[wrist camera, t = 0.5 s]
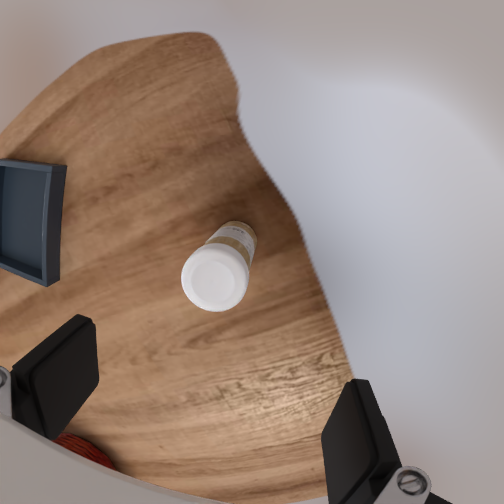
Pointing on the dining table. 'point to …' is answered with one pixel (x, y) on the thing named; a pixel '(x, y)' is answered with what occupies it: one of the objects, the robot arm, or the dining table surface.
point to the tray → (31, 219)
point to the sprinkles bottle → (220, 268)
